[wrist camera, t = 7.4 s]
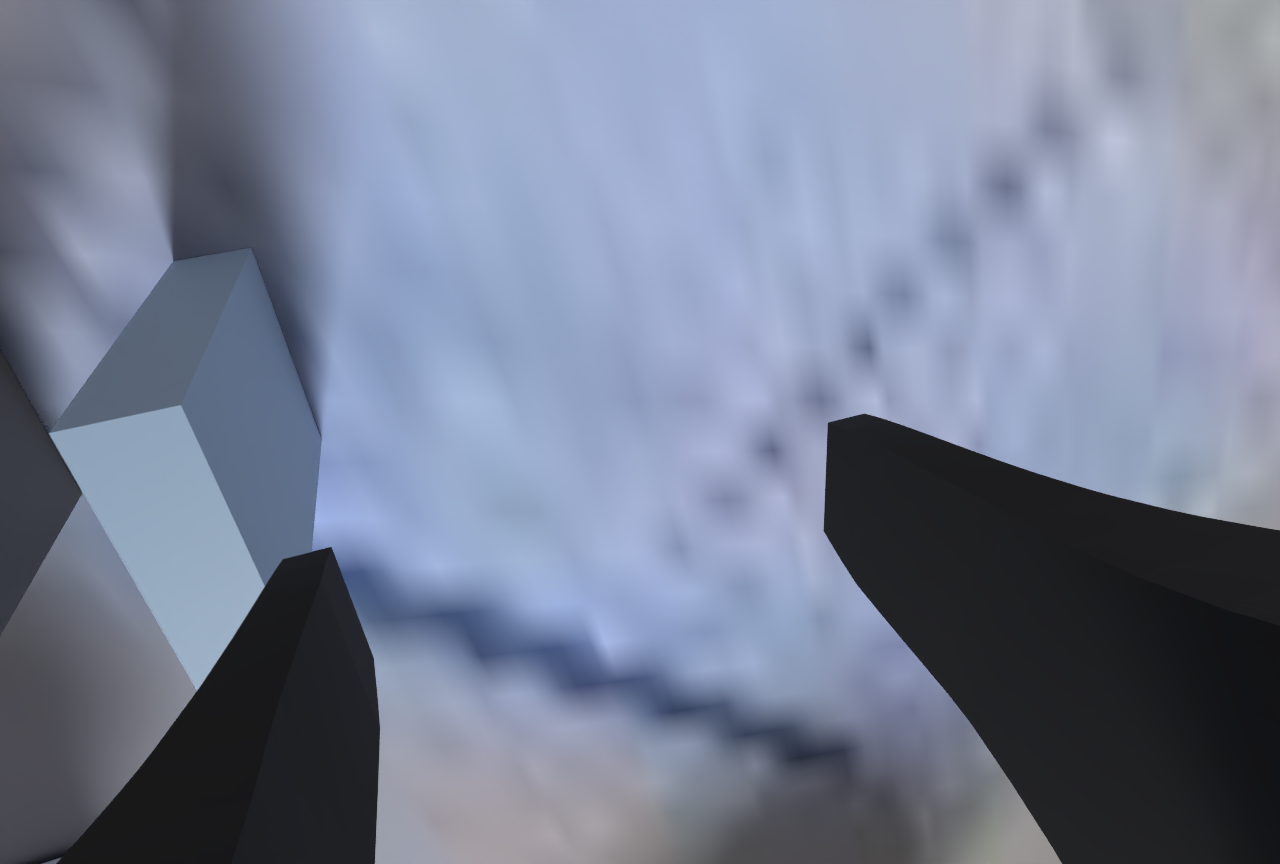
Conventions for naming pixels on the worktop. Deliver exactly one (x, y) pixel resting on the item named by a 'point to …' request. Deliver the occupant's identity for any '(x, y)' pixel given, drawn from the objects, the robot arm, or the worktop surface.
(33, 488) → the domino
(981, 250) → the worktop surface
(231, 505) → the domino
